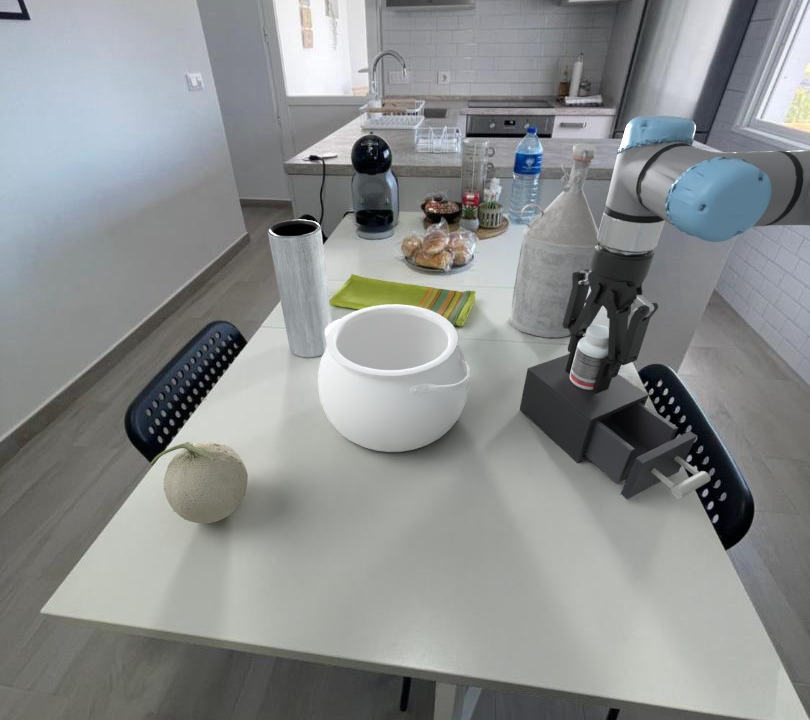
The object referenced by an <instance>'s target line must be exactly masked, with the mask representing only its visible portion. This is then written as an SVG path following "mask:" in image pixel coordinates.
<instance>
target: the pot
mask: <svg viewBox="0 0 810 720" xmlns="http://www.w3.org/2000/svg"><path fill="white" fill-rule="evenodd" d="M324 331H325V339H326V344H327V347H326V348H325V352H324V354H323V355H321V358H320V361H319V365H318V366H319V367H318V372H317V389H318V390H317V391H318V398H319V401H320V405H321V408H322V410H323V411H324V414H325V416H326V418H327V420H328V421H329V423H330V424H331V425H332V426H333V427H334V428H335V430H336V431H337V432H338V433H339V434H340V435H341V436H342V437H344V438H345V439H347V440H348V441H349V442H351V443H354V444H356V445H358V446H360V447H363V448H365V449H369V450H373V451H377V452H384V453H402V452H409V451H414V450H417V449H419V448H423V447H425V446H428V445H430V444H432V443H433V442H435V441H437V440H440V439H441V438H442V437H443V436H445V434H447V433H448V432H449V431H450V430H451V428H452V427H453V426H454V425H455V423H456V422H457V421H458V420H459V418H460V417H461V415H462V413H463V410H464V407H465V406H466V402H467V400H468V394H469V382H470V381H469V380H470V377H471V367H470V365H469V363H468V361H466V358H465V354H464V352H463V351H462V349H461V347H460V345H459V344H458V342H459V336H458V332H457V331H458V330H457V329H456V328H455V326H453V325H452V324H451V323H450V322H449V321H448V320H447V319H446V318H444V317H443V316H441V315H439V314H438V313H435V312H433V311H431V310H428V309H424V308H421V307H416V306H410V305H398V304H394V305H379V306H372V307H368V308H364V309H361V310H359V309H357V310H355V311H352V312H350V313H348V314H346V315H344V316H342V317H341V318H338V319H335V320H332V322H331V323H330V324H329V325H328V326H327V327H326V328H325V330H324Z"/></svg>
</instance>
